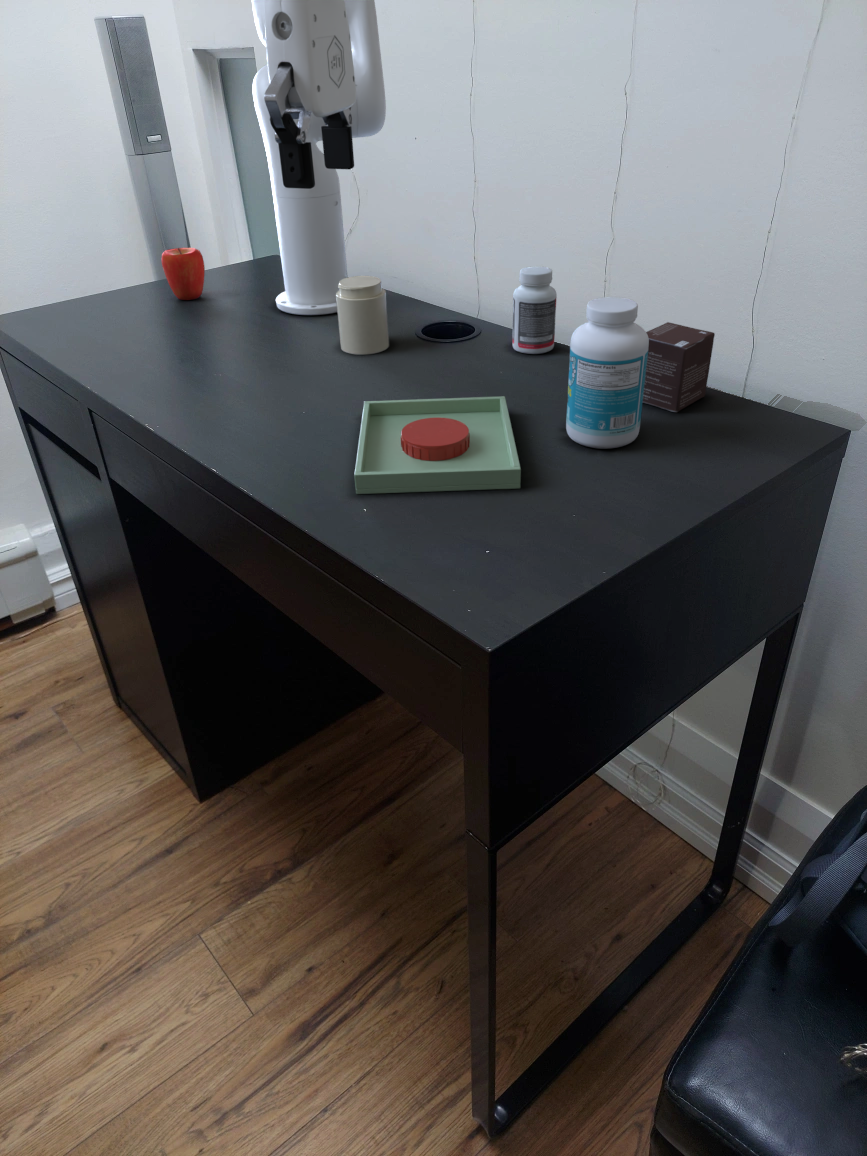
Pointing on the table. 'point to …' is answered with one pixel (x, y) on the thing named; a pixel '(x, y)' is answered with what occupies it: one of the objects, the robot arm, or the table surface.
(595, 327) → the pill bottle
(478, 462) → the tray
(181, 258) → the apple
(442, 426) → the cap
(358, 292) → the jar
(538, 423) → the table surface
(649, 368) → the box
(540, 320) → the pill bottle
